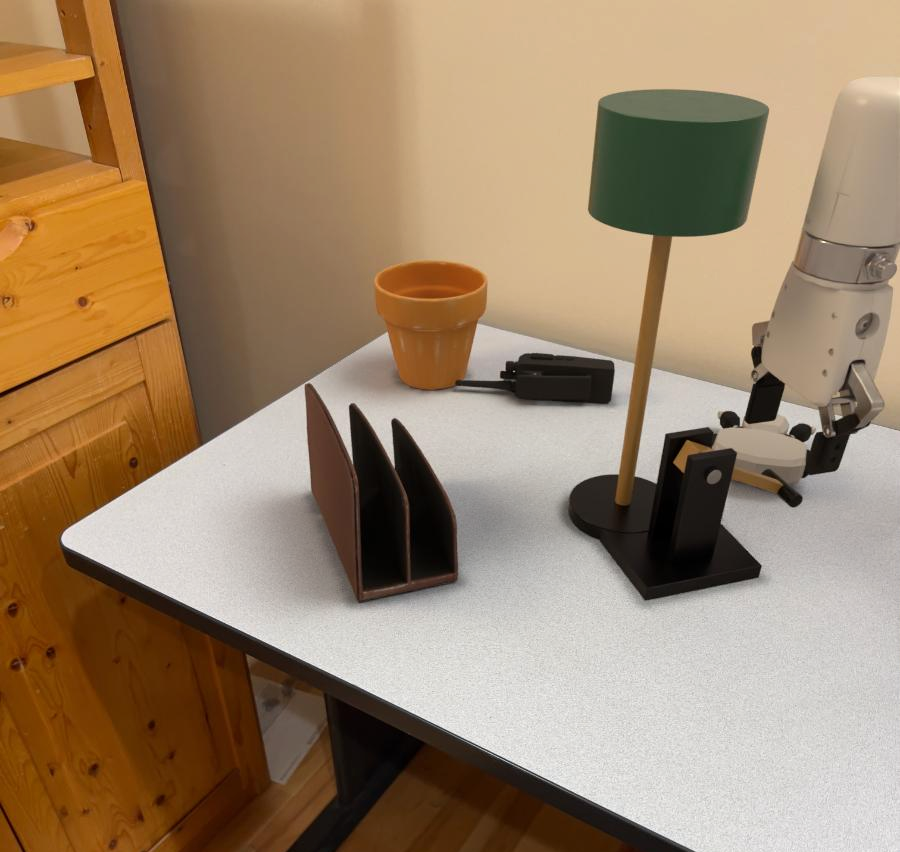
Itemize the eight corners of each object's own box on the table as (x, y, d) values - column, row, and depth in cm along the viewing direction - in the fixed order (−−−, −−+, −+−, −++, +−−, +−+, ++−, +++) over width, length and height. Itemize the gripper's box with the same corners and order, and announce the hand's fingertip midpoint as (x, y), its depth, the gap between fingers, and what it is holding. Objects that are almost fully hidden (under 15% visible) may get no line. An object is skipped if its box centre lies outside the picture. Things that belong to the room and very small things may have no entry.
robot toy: (709, 431, 108) (690, 483, 97) (717, 396, 105) (698, 445, 94) (814, 450, 105) (807, 506, 93) (825, 414, 102) (819, 467, 90)
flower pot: (427, 410, 110) (425, 308, 102) (357, 374, 118) (350, 277, 110) (506, 377, 118) (511, 280, 109) (436, 345, 126) (435, 252, 118)
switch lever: (764, 486, 87) (778, 466, 86) (793, 513, 84) (809, 492, 82) (665, 455, 81) (679, 432, 80) (692, 482, 77) (707, 459, 76)
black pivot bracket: (705, 521, 91) (730, 409, 83) (758, 578, 84) (792, 460, 76) (599, 541, 88) (614, 426, 80) (645, 601, 81) (667, 481, 73)
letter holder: (356, 604, 81) (345, 470, 72) (311, 494, 95) (297, 371, 86) (459, 583, 83) (461, 451, 74) (399, 478, 98) (395, 357, 89)
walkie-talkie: (616, 348, 109) (455, 341, 110) (613, 397, 108) (451, 389, 110) (611, 367, 115) (458, 359, 116) (608, 413, 114) (455, 405, 116)
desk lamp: (668, 480, 98) (740, 88, 74) (698, 549, 87) (793, 121, 63) (551, 482, 97) (585, 89, 73) (567, 552, 87) (614, 122, 63)
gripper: (960, 290, 65) (884, 487, 76) (819, 222, 78) (770, 399, 89) (875, 299, 64) (809, 500, 74) (745, 228, 76) (705, 408, 87)
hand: (788, 445), depth 82 cm, fingers open, 9 cm apart
